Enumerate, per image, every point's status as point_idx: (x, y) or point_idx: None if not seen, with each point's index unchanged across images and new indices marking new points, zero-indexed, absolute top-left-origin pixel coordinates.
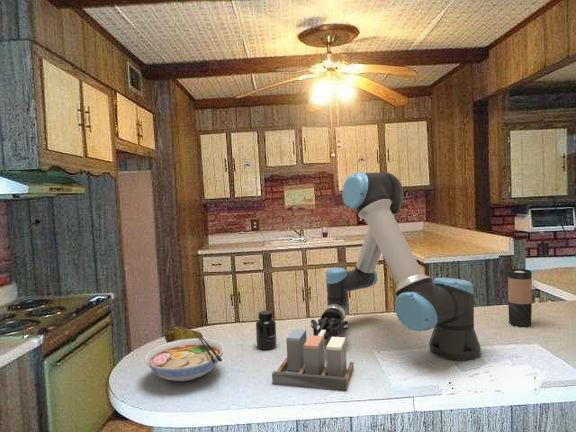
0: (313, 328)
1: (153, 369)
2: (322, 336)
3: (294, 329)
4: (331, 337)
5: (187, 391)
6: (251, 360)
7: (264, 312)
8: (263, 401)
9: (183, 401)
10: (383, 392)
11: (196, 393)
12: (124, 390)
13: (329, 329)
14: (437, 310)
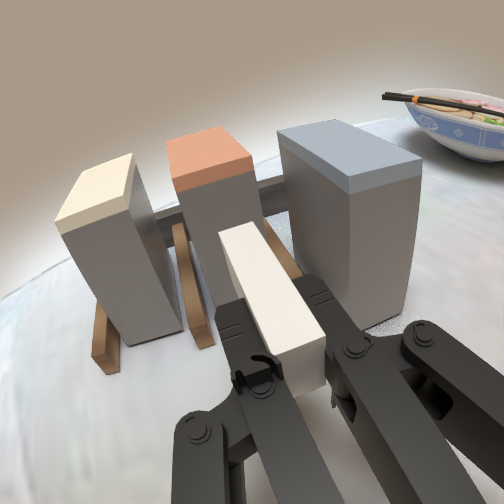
0: (435, 327)
1: (448, 97)
2: (176, 175)
3: (410, 156)
4: (123, 189)
5: (413, 139)
6: (496, 232)
7: None
8: (273, 167)
9: (384, 131)
10: (36, 291)
11: (396, 140)
12: None
13: (237, 381)
14: None
